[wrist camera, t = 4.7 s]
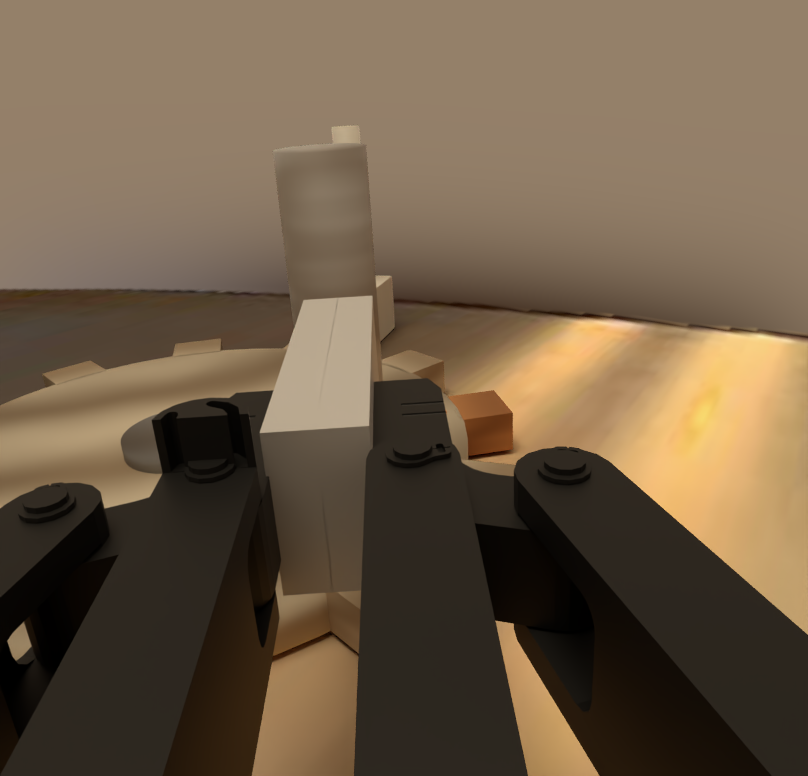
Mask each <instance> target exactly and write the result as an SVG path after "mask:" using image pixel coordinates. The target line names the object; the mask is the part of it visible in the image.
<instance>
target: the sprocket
mask: <svg viewBox="0 0 808 776" xmlns="http://www.w3.org/2000/svg"><path fill="white" fill-rule="evenodd" d="M273 157H274V166H275V173H276V182H277V191H278V199H279V208H280V216H281V223H282V233H283V240H284V249H285V258H286V266H287V274H288V283H289V291H290V300H291V308H292V317H293V325H294V328H295V325H296V322H297V319H298V316H299V313H300V310H301V307H302V304H303V301H304V300H311V299H327V298H342V297H358V296H372V297H373V310H374V323H375V336H376V349H377V362H378V375H379V381H391V380H407V379H422V378H428V379H429V380H431V381H432V382H433V383H435V384H436V385H437V386H439V387H440V388H441V390H442V395H443V400H444V405H445V410H446V415H447V420H448V425H449V430H450V435H451V440H452V444H454V445H455V446H456V448H457V449H458V451H459V453H460V456H461V461H462V463H463V464H465V465H467V466H469V467H471V468H473V469H476V470H479V471H482V472H486V473H492V474H497V475H506V476H514V468H515V466H516V465H511V464H502V463H492V462H482V461H473V460H468V456H471V455H477V454H484V453H491V452H497V451H504V450H510V449H513V413H512V411H511V410H510V409H509V408H508V407H507V406H506V404H505V403H504V402H503V401H502V400H501V398H500V397H499V396H498V395H497V394H496V393H495V391H494V390H493V391H486V392H478V393H471V394H464V395H456V396H449V397H447V395H446V394H444V392H445V387H444V361H443V360H440V359H437V358H434V357H430V356H427V355H424V354H421V353H418V352H415V351H412V350H408V351H405V352H402V353H399V354H397V355H394V356H391V357H388V358H385V359H383V360H382V359H381V345H380V332H379V318H378V304H377V290H376V276H375V263H374V249H373V235H372V221H371V208H370V194H369V182H368V181H369V180H368V167H367V152H366V145H365V144H360V143H333V144H317V145H304V146H295V147H287V148H281V149H277V150H274V151H273ZM288 346H289V344H288V345H287V346H286V347H284V348H283V349H279V348H278V349H240V350H223V348H222V342H221V339H214V340H205V341H197V342H188V343H179V344H175V349H174V353H173V357H166V358H161V359H155V360H150V361H144V362H139V363H134V364H130V365H125V366H121V367H116V368H112V369H108V370H105V369H103V368H101V367H100V366H98V365H97V364H95V363H93V362H92V361H87V362H84V363H80V364H76V365H73V366H69V367H66V368H62V369H58V370H55V371H51V372H47V373H44V374H42V375H43V379H44V383H45V387H46V388H44V389H41V390H38V391H36V392H33V393H30V394H27V395H24V396H22V397H19V398H17V399H15V400H12V401H10V402H7V403H5V404H2V405H0V508H1V507H3V506H4V505H5V504H7V503H9V502H10V501H12V500H14V499H15V498H17V497H19V496H20V495H22V494H25V493H28V492H30V491H33V490H34V489H35V488H37V487H40V486H43V485H47V484H49V486H50V485H51V484H52V483H59V482H63V483H83V484H88V485H93V486H94V487H95V488H96V489H98V490H99V491H100V492H101V496H102V500H103V504H104V508H109V507H113V506H117V505H121V504H126V503H130V502H134V501H138V500H141V499H145V498H148V497H150V496H151V494H152V492H153V490H154V488H155V486H156V484H157V483H158V481H159V479H160V477H161V475H162V469H161V464H160V459H159V454H158V449H157V445H156V440H155V435H154V430H153V425H152V421H151V420H152V419H153V418H154V417H155V416H156V415H158V414H159V413H160V412H161V411H163V410H165V409H168V408H170V407H172V406H174V405H177V404H180V403H184V402H187V401H190V400H196V399H204V398H230V397H231V396H232V395H234V394H235V393H240V392H255V391H270V390H274V388H275V385H276V382H277V379H278V376H279V373H280V370H281V367H282V364H283V361H284V358H285V355H286V352H287V349H288ZM276 595H277V602H278V609H279V617H280V619H279V624H278V630H277V635H276V641H275V647H274V652H273V656H274V655H277V654H279V653H282V652H284V651H286V650H289V649H291V648H293V647H296V646H298V645H300V644H303V643H305V642H307V641H309V640H312V639H314V638H316V637H319V636H321V635H323V634H325V633H327V632H329V631H331V632H333V633H334V634H335V635H336V636H338V637H339V638H340V639H341V640H343V641H344V642H345V643H346V644H348V645H349V646H350V647H351V648H352V649H354V650H355V651H356V652H357V653H359V632H360V606H361V591H346V592H331V593H316V594H301V595H286V596H283V590H282V583H281V576H280V569H279V574H278V579H277V584H276ZM8 644H9V647H10V650H11V653H12V656H13V658H14V659H15V660H18V659H19V658H20V657H22V656H23V655H24V654H25V653H26V652H27V651H28V650H29V648H30V647H31V643H30V640H29V637H28V634H27V631H26V627H25V624H24V622H23V623H22V624H21V625H20V626H19V627H18V628H17V629H16V630H15V631H14V632H13V633H12V635H11V636H10V638H9V639H8Z"/></svg>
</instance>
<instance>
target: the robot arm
mask: <svg viewBox="0 0 808 776" xmlns="http://www.w3.org/2000/svg"><path fill="white" fill-rule="evenodd" d="M151 421H152V425H153V430H154V435H155V440H156V445H157V449H158V454H159V459H160V464H161V469H162V475H161V477H160V479H159V481H158V483H157V484H156V486H155V488H154V490H153V492H152V494H151V496H150V497H148V498H145V499H141V500H138V501H134V502H130V503H126V504H121V505H117V506H113V507H109V508H104V504H103V500H102V496H101V492H100V491H99V490H98V489H96V488H95V487H94V486H93V485H88V484H83V483H63V482H59V483H52V484H51V485H50V486H49V484H47V485H43V486H40V487H37V488H35V489H34V490H33V491H30V492H28V493H25V494H22V495H20V496H19V497H17V498H15V499H14V500H12V501H10V502H9V503H7V504H5V505H4V506H3V507H1V508H0V776H252V771H253V765H254V759H255V754H256V748H257V742H258V737H259V731H260V726H261V720H262V714H263V709H264V703H265V697H266V692H267V686H268V681H269V675H270V669H271V664H272V658H273V652H274V647H275V641H276V635H277V630H278V624H279V619H280V617H279V609H278V602H277V595H276V584H277V579H278V574H279V569H280V576H281V583H282V590H283V596H286V595H301V594H316V593H331V592H346V591H361V606H360V632H359V659H358V686H357V713H356V739H355V766H354V776H528V774H527V769H526V764H525V759H524V755H523V750H522V745H521V740H520V736H519V731H518V726H517V722H516V717H515V712H514V707H513V703H512V698H511V693H510V688H509V684H508V679H507V674H506V669H505V665H504V660H503V655H502V650H501V646H500V641H499V636H498V632H497V627H496V622H495V620H496V621H502V622H508V623H514V630H515V634H516V637H517V640H518V642H519V644H520V645H521V647H522V649H523V650H524V652H525V654H526V655H527V657H528V659H529V660H530V662H531V663H532V665H533V667H534V668H535V670H536V672H537V673H538V675H539V677H540V678H541V680H542V682H543V683H544V685H545V687H546V688H547V690H548V691H549V693H550V695H551V696H552V698H553V700H554V701H555V703H556V705H557V706H558V708H559V710H560V711H561V713H562V715H563V716H564V718H565V719H566V721H567V723H568V724H569V726H570V728H571V729H572V731H573V733H574V734H575V736H576V738H577V739H578V741H579V743H580V744H581V746H582V747H583V749H584V751H585V752H586V754H587V756H588V757H589V759H590V761H591V762H592V764H593V766H594V767H595V769H596V771H597V772H598V774H599V775H600V776H808V635H807V634H806V633H805V632H804V631H803V630H802V629H800V628H799V627H798V626H797V625H796V624H795V623H794V622H792V621H791V620H790V619H789V618H788V617H787V616H786V615H784V614H783V613H782V612H781V611H780V610H779V609H777V608H776V607H775V606H774V605H773V604H772V603H771V602H769V601H768V600H767V599H766V598H765V597H764V596H763V595H761V594H760V593H759V592H758V591H757V590H756V589H755V588H753V587H752V586H751V585H750V584H749V583H748V582H747V581H745V580H744V579H743V578H742V577H741V576H740V575H739V574H737V573H736V572H735V571H734V570H733V569H732V568H731V567H729V566H728V565H727V564H726V563H725V562H724V561H723V560H721V559H720V558H719V557H718V556H717V555H716V554H715V553H713V552H712V551H711V550H710V549H709V548H708V547H707V546H705V545H704V544H703V543H702V542H701V541H700V540H699V539H697V538H696V537H695V536H694V535H693V534H692V533H691V532H689V531H688V530H687V529H686V528H685V527H684V526H683V525H681V524H680V523H679V522H678V521H677V520H676V519H675V518H673V517H672V516H671V515H670V514H669V513H668V512H666V511H665V510H664V509H663V508H662V507H661V506H660V505H658V504H657V503H656V502H655V501H654V500H653V499H652V498H650V497H649V496H648V495H647V494H646V493H645V492H644V491H642V490H641V489H640V488H639V487H638V486H637V485H636V484H634V483H633V482H632V481H631V480H630V479H629V478H628V477H626V476H625V475H624V474H623V473H622V472H621V471H620V470H618V469H617V468H616V467H615V466H614V465H613V464H612V463H610V462H609V461H607V460H606V459H604V458H602V457H601V456H599V455H597V454H594V453H591V452H588V451H584V450H581V449H579V448H574V447H569V448H567V447H555V448H549V449H541V450H538V451H535V452H531V453H528V454H526V455H525V456H524V457H522V458H521V459H519V460H518V461H517V463H516V466H515V468H514V476H506V475H497V474H492V473H486V472H482V471H479V470H476V469H473V468H471V467H469V466H467V465H465V464H463V463H462V461H461V456H460V453H459V451H458V449H457V448H456V446H455V445H454V444H452V440H451V435H450V430H449V425H448V420H447V415H446V410H445V405H444V400H443V395H442V390H441V388H440V387H439V386H437V385H436V384H435V383H433V382H432V381H431V380H429V379H428V378H422V379H407V380H391V381H379V375H378V362H377V349H376V336H375V323H374V310H373V297H372V296H358V297H342V298H327V299H311V300H304V301H303V304H302V307H301V310H300V313H299V316H298V319H297V322H296V325H295V328H294V331H293V334H292V337H291V340H290V343H289V346H288V349H287V352H286V355H285V358H284V361H283V364H282V367H281V370H280V373H279V376H278V379H277V382H276V385H275V388H274V390H270V391H255V392H240V393H235V394H234V395H232V396H231V397H230V398H204V399H196V400H190V401H187V402H184V403H180V404H177V405H174V406H172V407H170V408H168V409H165V410H163V411H161V412H160V413H159V414H158V415H156V416H155V417H154V418H153V419H152V420H151ZM23 622H24V624H25V627H26V631H27V634H28V637H29V640H30V643H31V647H30V648H29V650H28V651H27V652H26V653H25V654H24V655H23V656H22V657H20V658H19V659H18V660H15V659H14V658H13V656H12V653H11V650H10V647H9V644H8V639H9V638H10V636H11V635H12V633H13V632H14V631H15V630H16V629H17V628H18V627H19V626H20V625H21V624H22V623H23Z"/></svg>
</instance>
